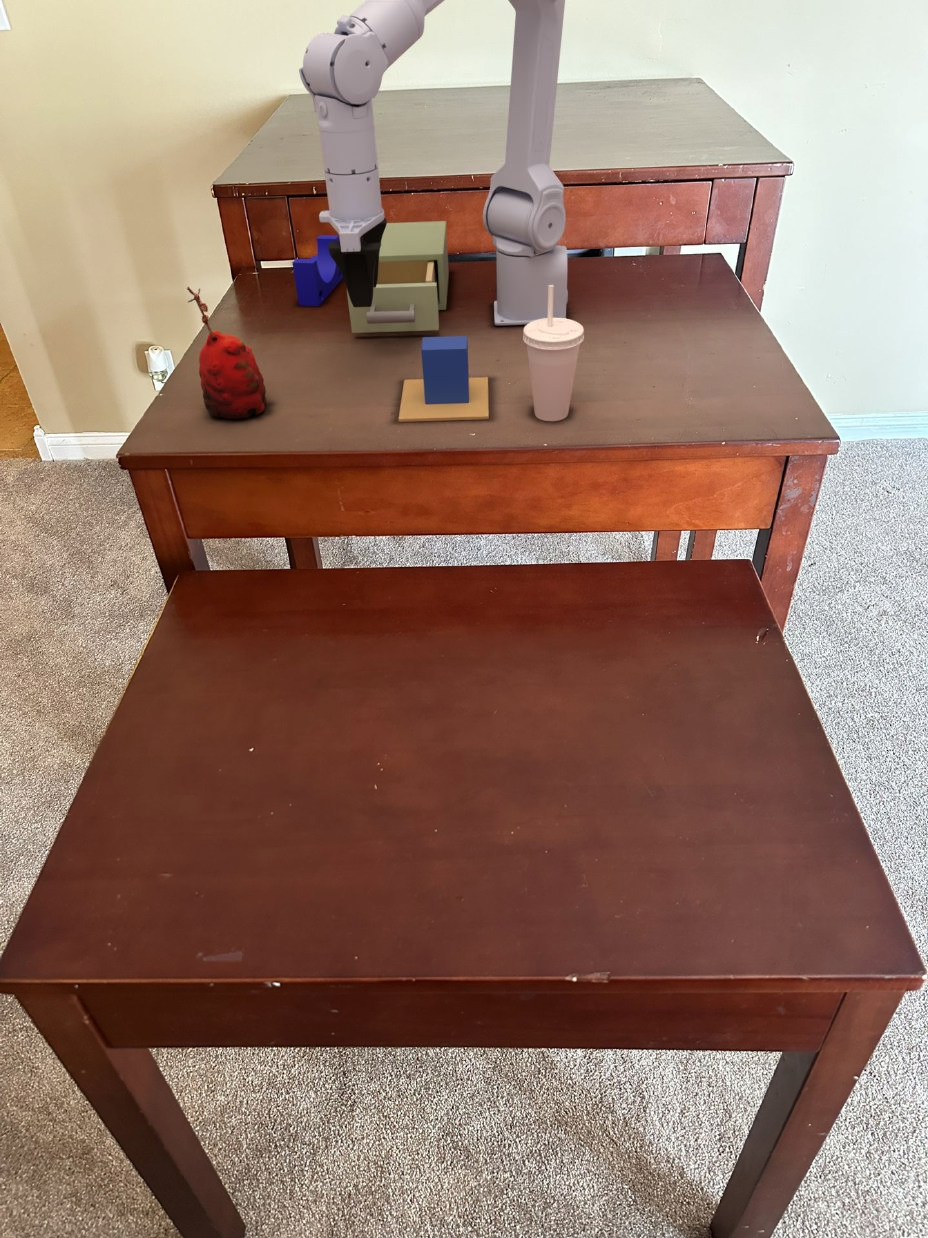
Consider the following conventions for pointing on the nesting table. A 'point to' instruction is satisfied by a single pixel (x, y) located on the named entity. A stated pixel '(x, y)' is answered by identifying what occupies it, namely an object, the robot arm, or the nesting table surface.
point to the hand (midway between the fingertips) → (365, 296)
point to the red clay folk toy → (229, 374)
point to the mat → (419, 411)
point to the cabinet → (419, 249)
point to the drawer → (400, 299)
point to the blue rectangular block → (445, 369)
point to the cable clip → (316, 274)
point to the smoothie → (552, 362)
